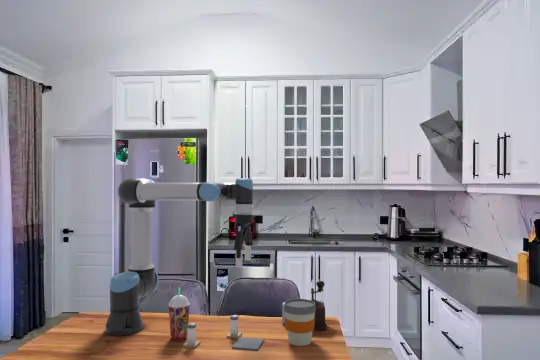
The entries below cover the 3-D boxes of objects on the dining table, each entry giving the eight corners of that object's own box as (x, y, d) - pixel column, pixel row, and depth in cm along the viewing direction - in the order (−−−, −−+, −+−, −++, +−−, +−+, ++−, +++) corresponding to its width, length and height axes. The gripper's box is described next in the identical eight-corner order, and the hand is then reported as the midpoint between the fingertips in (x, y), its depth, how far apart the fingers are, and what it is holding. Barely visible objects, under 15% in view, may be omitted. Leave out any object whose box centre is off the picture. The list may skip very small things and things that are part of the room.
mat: (231, 348, 153) (231, 346, 153) (239, 338, 163) (239, 337, 163) (257, 350, 151) (257, 348, 151) (263, 340, 161) (263, 339, 161)
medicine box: (300, 321, 184) (300, 302, 184) (299, 324, 179) (299, 305, 179) (282, 320, 185) (282, 301, 185) (282, 324, 180) (282, 304, 180)
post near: (182, 347, 154) (182, 325, 154) (188, 342, 159) (188, 321, 159) (195, 348, 153) (195, 326, 153) (200, 343, 158) (200, 322, 158)
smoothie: (187, 342, 159) (187, 290, 160) (165, 341, 159) (166, 290, 160) (191, 334, 168) (191, 285, 168) (171, 334, 168) (171, 285, 168)
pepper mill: (327, 330, 172) (327, 288, 172) (301, 330, 172) (301, 287, 173) (324, 319, 187) (324, 279, 188) (300, 318, 188) (300, 279, 188)
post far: (226, 337, 164) (226, 317, 164) (230, 333, 169) (230, 313, 169) (238, 338, 163) (238, 318, 163) (241, 334, 168) (241, 314, 168)
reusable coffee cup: (289, 349, 152) (289, 308, 152) (279, 337, 164) (279, 299, 165) (320, 345, 156) (320, 306, 156) (309, 334, 168) (308, 297, 168)
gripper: (244, 215, 164) (243, 268, 163) (259, 212, 188) (258, 258, 187) (226, 215, 165) (226, 267, 165) (243, 212, 190) (243, 257, 189)
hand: (243, 263), depth 176 cm, fingers open, 13 cm apart
